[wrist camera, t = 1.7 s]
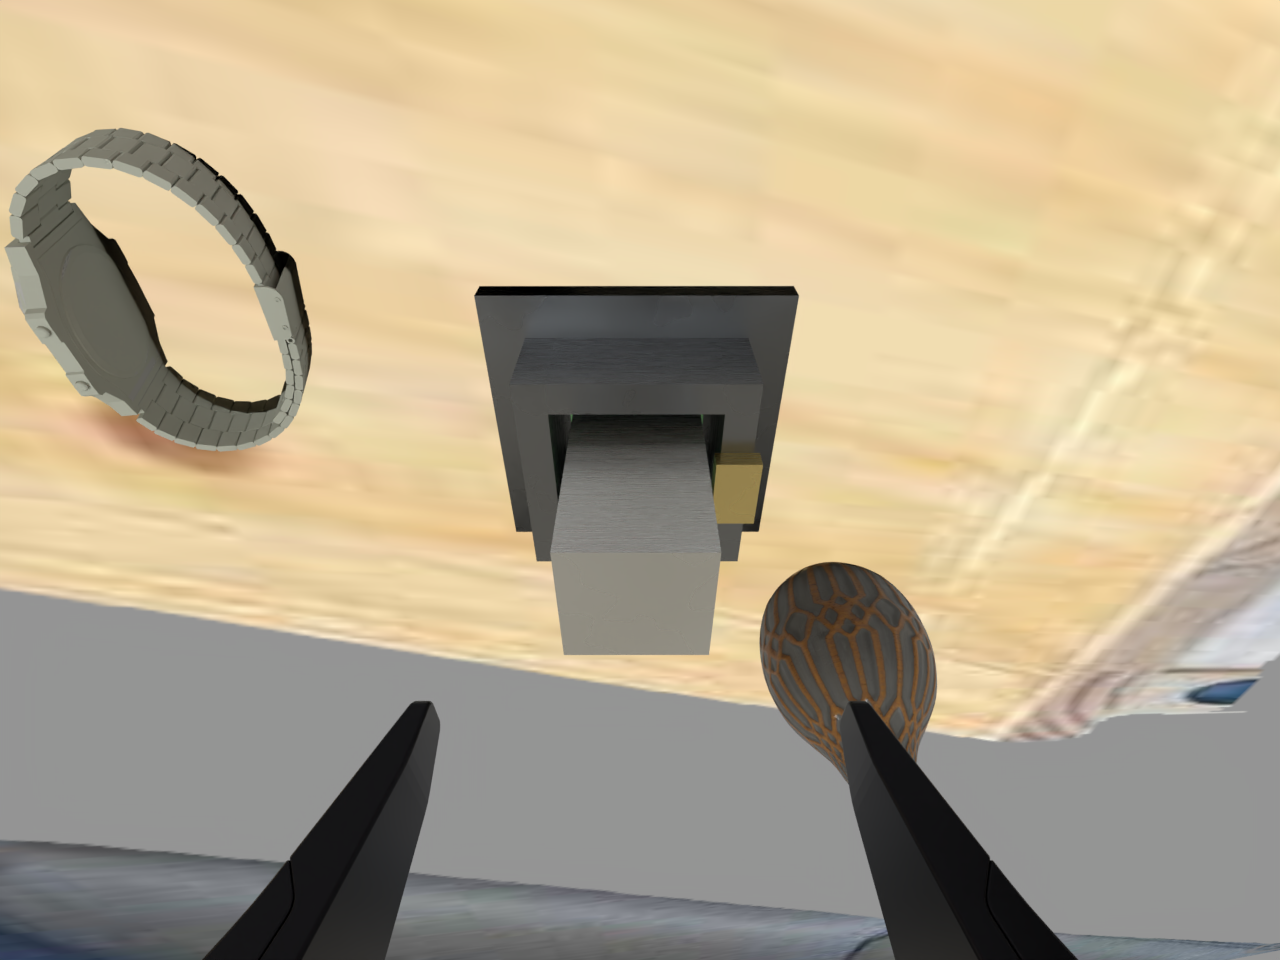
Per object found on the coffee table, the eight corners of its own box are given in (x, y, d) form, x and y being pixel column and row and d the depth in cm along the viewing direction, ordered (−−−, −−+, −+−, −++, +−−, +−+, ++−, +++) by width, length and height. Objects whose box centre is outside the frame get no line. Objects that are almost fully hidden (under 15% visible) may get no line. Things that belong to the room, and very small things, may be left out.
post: (700, 378, 20) (728, 548, 14) (693, 478, 23) (713, 658, 17) (573, 378, 20) (543, 548, 14) (580, 478, 23) (558, 658, 17)
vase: (928, 554, 27) (1028, 745, 20) (853, 645, 31) (915, 829, 24) (785, 524, 26) (839, 715, 19) (728, 622, 30) (754, 809, 23)
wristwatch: (42, 114, 16) (-148, 150, 12) (278, 127, 16) (165, 166, 13) (185, 403, 22) (87, 490, 18) (359, 411, 22) (299, 498, 18)
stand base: (794, 286, 19) (828, 348, 16) (755, 518, 25) (774, 600, 22) (479, 286, 19) (444, 348, 16) (519, 518, 25) (500, 600, 22)
